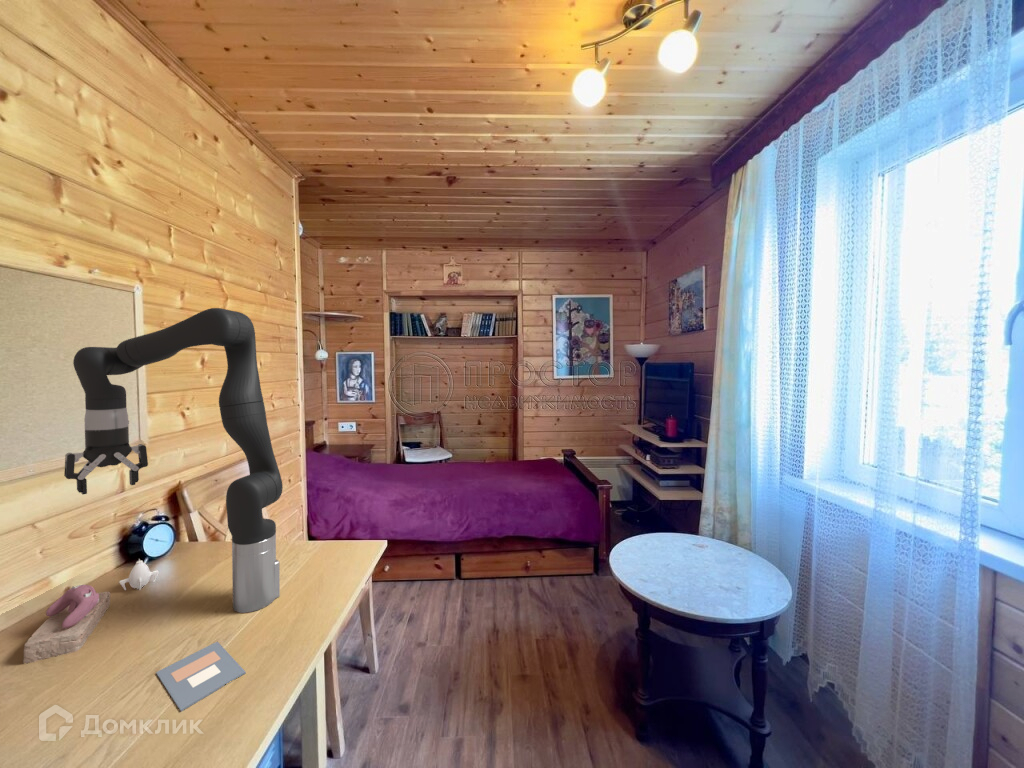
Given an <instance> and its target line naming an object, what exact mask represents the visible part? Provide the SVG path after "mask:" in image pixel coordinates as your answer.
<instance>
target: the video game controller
mask: <svg viewBox="0 0 1024 768" xmlns="http://www.w3.org/2000/svg"><path fill="white" fill-rule="evenodd" d="M98 593H99V592H96V590H95V588H94V586H92V585H89V584H78V585H76V586H71V587H70V588H68V589H67V590H66V591H65V592H64V593H63V594H62V595H61V596H60V597H59V598H58V599H57V600H56V601H54V602H53V603H52V604H51V605H50V606H49V607H48V608H47V610H46V612H45V615H46V617H50V616H53V615H56V614H58V613H59V612H61V611H62V610H64V609H65V608H67V607H68V606H69V605H70V606H69V609H68V612H72V613H71V614H69V615H68V616H67V617H66V618H65V620H64V621H63V623H62V627H63V628H69V627H71V626H73V625H75V624H76V623H78V622H79V621H81V620H82V619H83V618H84V617H85V616H86V615H87V614H88V613H89V612H90V611H91V610H92V609H93V608H94V607H95V606H96V604H97V603H98V602H99V594H98Z"/></svg>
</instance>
